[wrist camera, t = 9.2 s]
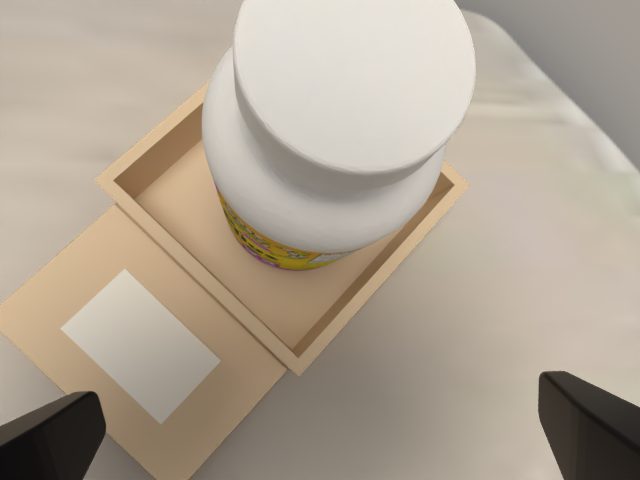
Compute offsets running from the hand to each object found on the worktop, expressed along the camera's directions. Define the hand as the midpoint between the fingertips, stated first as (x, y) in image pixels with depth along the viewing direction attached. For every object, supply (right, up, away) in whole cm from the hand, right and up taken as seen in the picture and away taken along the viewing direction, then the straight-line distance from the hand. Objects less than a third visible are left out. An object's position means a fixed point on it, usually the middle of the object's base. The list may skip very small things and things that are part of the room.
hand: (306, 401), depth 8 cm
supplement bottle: (-1, +5, +12) cm, 13 cm away
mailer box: (-4, +3, +12) cm, 13 cm away
